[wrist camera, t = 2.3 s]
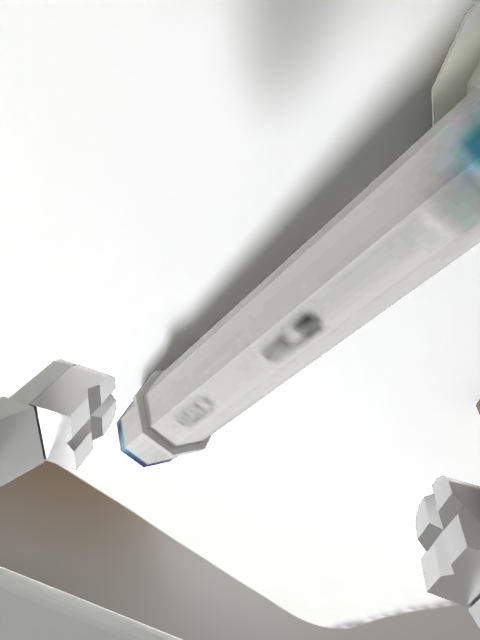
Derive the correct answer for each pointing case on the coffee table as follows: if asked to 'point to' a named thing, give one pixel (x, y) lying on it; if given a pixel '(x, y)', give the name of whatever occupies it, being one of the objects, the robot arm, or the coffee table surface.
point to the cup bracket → (478, 406)
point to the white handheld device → (330, 276)
